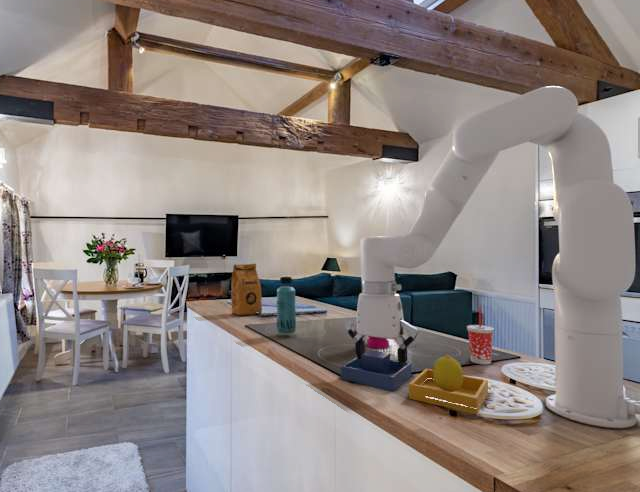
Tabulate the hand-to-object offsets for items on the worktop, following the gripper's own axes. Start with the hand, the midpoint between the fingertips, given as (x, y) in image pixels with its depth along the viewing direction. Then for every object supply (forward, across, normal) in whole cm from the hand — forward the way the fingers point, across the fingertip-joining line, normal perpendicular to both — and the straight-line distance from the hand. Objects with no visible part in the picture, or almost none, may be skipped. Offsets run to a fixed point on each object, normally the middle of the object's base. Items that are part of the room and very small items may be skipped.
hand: (380, 361), depth 95 cm
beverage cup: (+4, -16, -28) cm, 32 cm away
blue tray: (+4, +1, 0) cm, 4 cm away
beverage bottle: (+3, +40, -21) cm, 45 cm away
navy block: (+3, +1, 0) cm, 4 cm away
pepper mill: (+4, +11, -27) cm, 29 cm away
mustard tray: (+4, -15, +2) cm, 16 cm away
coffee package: (+2, +75, -43) cm, 86 cm away
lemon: (+4, -15, +2) cm, 16 cm away
